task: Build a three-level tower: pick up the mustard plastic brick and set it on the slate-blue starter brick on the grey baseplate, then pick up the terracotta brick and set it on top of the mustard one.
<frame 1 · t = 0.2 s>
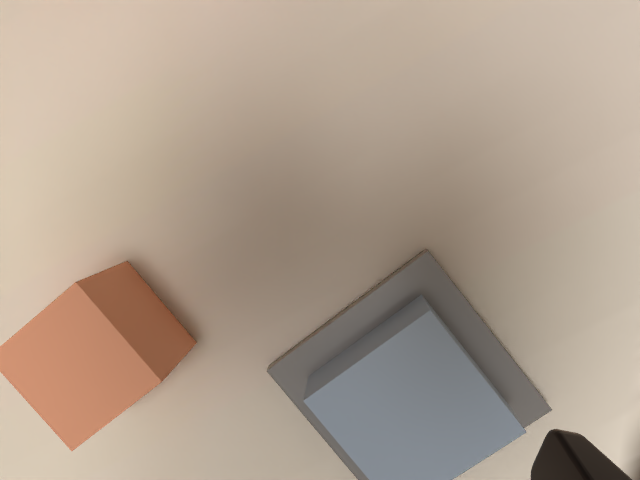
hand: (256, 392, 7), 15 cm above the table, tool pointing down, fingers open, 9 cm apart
baseplate: (405, 384, 23), on the table
terracotta brick: (125, 332, 24), on the table
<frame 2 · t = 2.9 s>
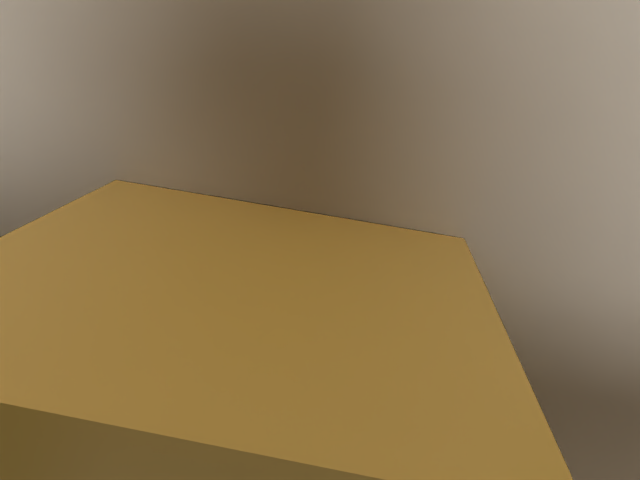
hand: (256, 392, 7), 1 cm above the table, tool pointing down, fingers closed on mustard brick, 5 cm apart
mustard brick: (270, 352, 8), on the table, touching gripper
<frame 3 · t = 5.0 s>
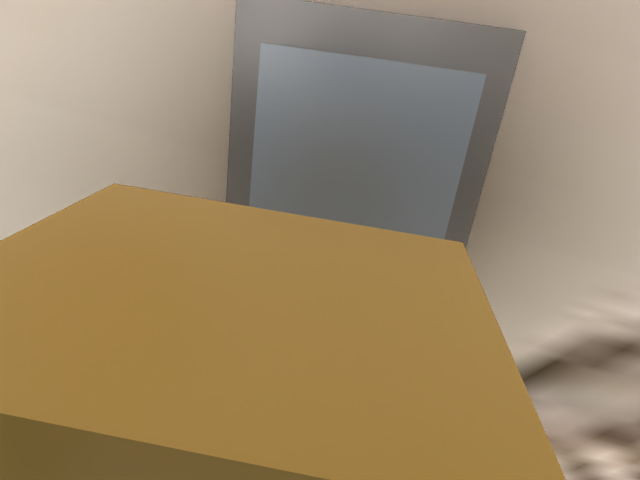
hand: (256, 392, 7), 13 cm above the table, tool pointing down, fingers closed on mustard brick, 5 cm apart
baseplate: (356, 151, 18), on the table
mustard brick: (268, 355, 8), point 12 cm above the table, touching gripper
when the fingers open (5 cm above the table, at t = 6.9 s): mustard brick stays where it is, resting on baseplate.
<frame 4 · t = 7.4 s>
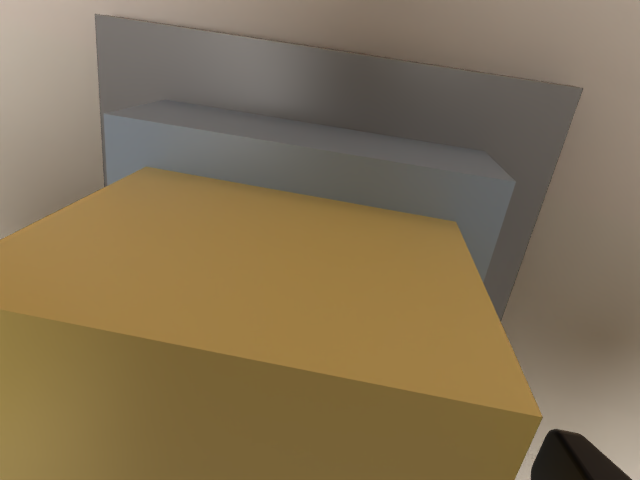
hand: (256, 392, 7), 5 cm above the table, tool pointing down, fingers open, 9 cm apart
baseplate: (305, 258, 12), on the table
mustard brick: (280, 324, 9), point 3 cm above the table, touching baseplate
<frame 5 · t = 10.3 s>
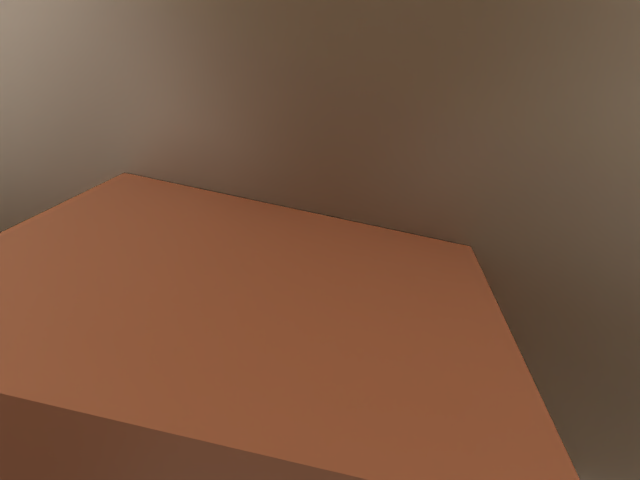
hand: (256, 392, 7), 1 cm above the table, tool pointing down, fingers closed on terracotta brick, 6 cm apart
terracotta brick: (271, 351, 8), on the table, touching gripper
when the fingers open (10 cm above the table, at t = 14.1 s): terracotta brick drops 1 cm, resting on mustard brick.
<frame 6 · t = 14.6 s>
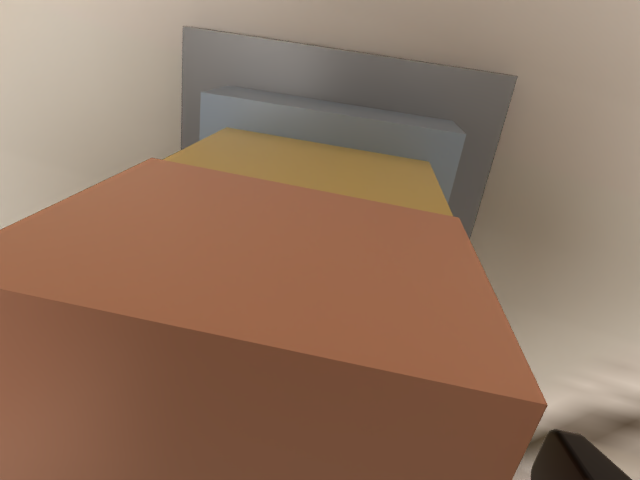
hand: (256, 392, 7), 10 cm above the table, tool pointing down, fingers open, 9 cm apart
baseplate: (325, 203, 16), on the table
terracotta brick: (282, 318, 9), point 7 cm above the table, touching mustard brick
mustard brick: (312, 237, 13), point 3 cm above the table, touching baseplate, terracotta brick
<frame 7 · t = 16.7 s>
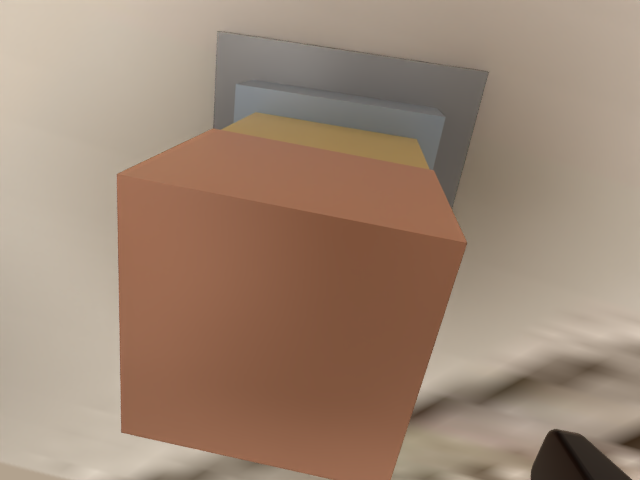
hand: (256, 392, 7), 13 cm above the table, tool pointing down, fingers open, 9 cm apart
baseplate: (332, 178, 19), on the table
terracotta brick: (305, 249, 12), point 7 cm above the table, touching mustard brick
mustard brick: (323, 202, 16), point 3 cm above the table, touching baseplate, terracotta brick
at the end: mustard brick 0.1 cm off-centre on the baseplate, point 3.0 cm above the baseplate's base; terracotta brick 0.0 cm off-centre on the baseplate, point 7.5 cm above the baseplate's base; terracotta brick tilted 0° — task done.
